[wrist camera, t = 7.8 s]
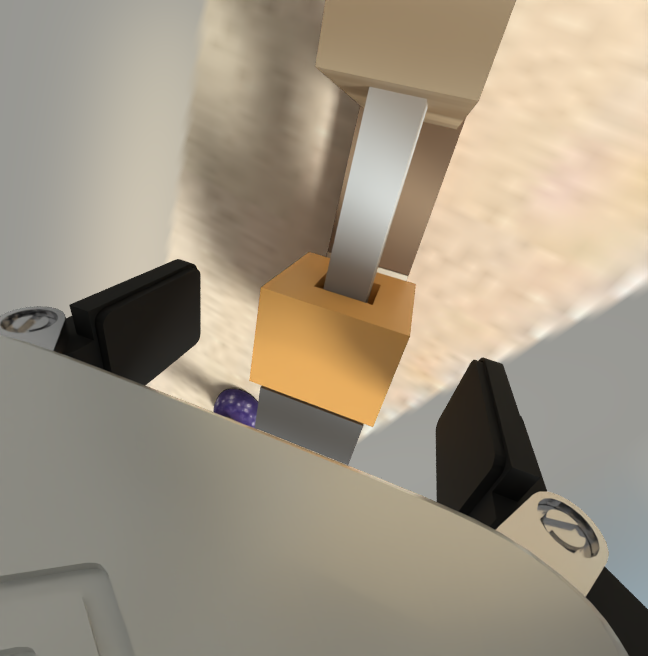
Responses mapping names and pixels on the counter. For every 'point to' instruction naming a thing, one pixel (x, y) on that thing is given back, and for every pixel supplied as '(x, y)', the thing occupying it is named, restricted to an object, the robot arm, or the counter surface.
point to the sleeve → (331, 339)
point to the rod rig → (390, 155)
